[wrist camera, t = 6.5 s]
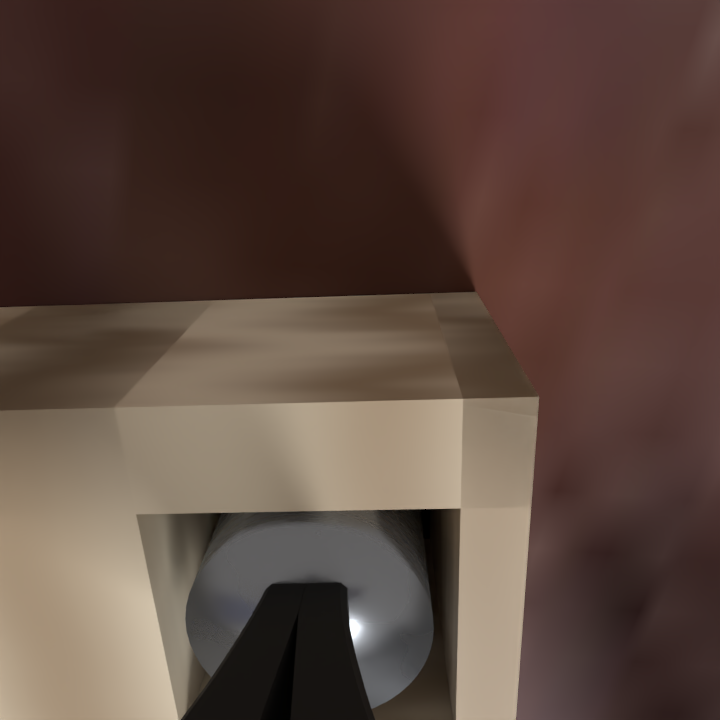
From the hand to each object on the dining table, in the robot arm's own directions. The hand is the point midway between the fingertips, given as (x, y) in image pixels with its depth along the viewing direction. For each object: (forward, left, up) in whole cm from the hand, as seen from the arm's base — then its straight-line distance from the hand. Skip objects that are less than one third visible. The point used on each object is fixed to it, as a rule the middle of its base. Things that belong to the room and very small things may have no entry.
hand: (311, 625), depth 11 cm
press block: (-5, 0, -6) cm, 8 cm away
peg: (0, 0, -6) cm, 6 cm away
